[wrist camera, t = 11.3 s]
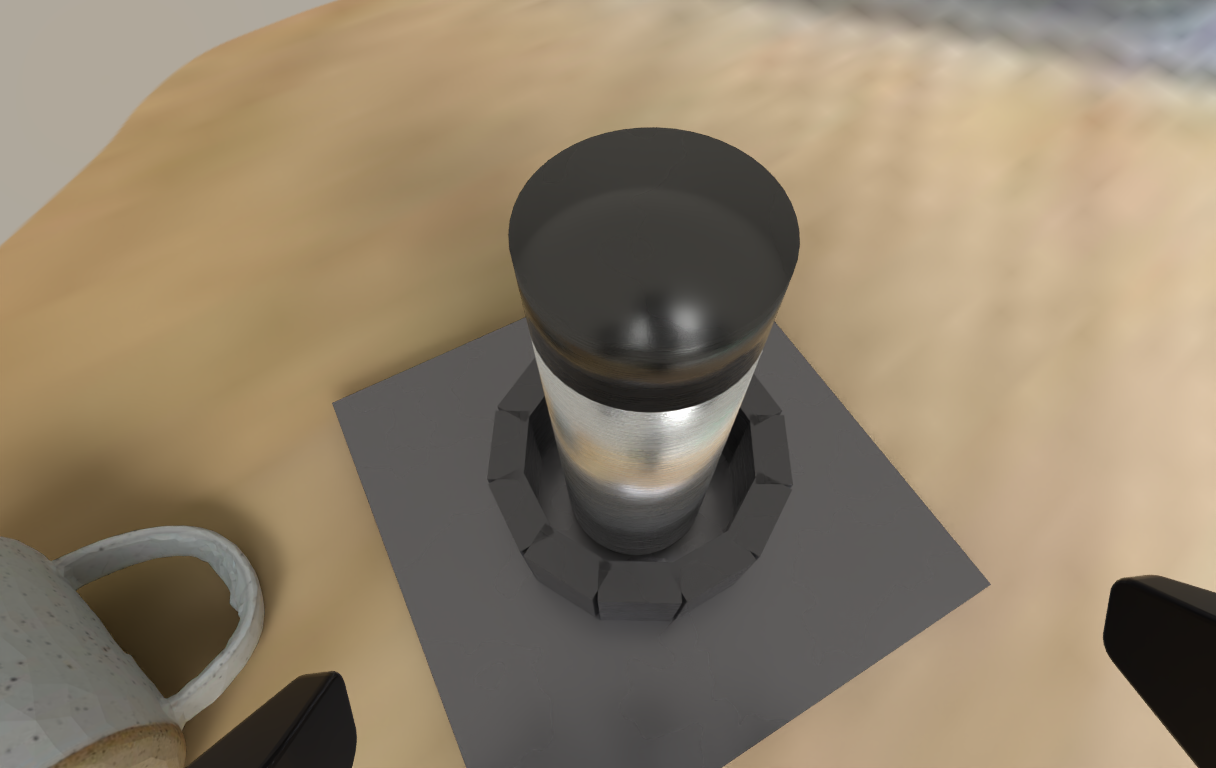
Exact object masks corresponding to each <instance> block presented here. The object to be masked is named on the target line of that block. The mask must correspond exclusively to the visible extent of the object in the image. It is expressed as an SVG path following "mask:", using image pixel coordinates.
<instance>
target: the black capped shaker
mask: <svg viewBox="0 0 1216 768" xmlns="http://www.w3.org/2000/svg"><path fill="white" fill-rule="evenodd" d="M508 236H509V249H510V254H511V258H512V262H513V266H514V270H515V274H516V278H517V283H518V287H519V291H520V295H521V299H522V303H523V307H524V312H525V316H526V320H527V324H528V328H529V332H530V336H531V340H532V345H533V349H534V353H535V357H536V361H537V365H538V369H539V374H540V378H541V382H542V386H543V390H544V394H545V398H546V403H547V407H548V411H549V415H550V419H551V423H552V427H553V432H554V436H555V440H556V444H557V448H558V452H559V456H560V460H561V465H562V469H563V473H564V477H565V481H566V485H567V489H568V494H569V498H570V502H571V506H572V510H573V512H574V515H575V517H576V519H577V521H578V522H579V524H580V526H581V527H582V528H583V530H584V531H585V532H586V533H587V534H588V535H589V536H590V537H591V538H592V539H593V540H595V541H596V542H597V543H599V544H600V545H602V546H604V547H606V548H608V549H610V550H613V551H615V552H619V553H623V554H630V555H643V554H650V553H654V552H658V551H660V550H663V549H665V548H667V547H669V546H671V545H672V544H674V543H675V542H677V541H678V540H679V539H680V538H682V537H683V536H684V534H685V533H686V532H687V531H688V530H689V529H690V527H691V526H692V524H693V522H694V521H695V519H696V517H697V514H698V512H699V509H700V507H701V504H702V502H703V499H704V497H705V494H706V492H707V489H708V486H709V484H710V481H711V479H712V476H713V474H714V471H715V469H716V466H717V464H718V461H719V459H720V456H721V454H722V451H723V449H724V446H725V444H726V441H727V439H728V436H729V434H730V431H731V429H732V426H733V423H734V421H735V418H736V416H737V413H738V411H739V408H740V406H741V403H742V401H743V398H744V396H745V393H746V391H747V388H748V386H749V383H750V381H751V378H752V376H753V373H754V371H755V368H756V366H757V363H758V360H759V358H760V355H761V353H762V350H763V348H764V345H765V343H766V340H767V338H768V335H769V333H770V330H771V328H772V325H773V323H774V320H775V318H776V315H777V313H778V310H779V308H780V305H781V303H782V300H783V297H784V295H785V292H786V290H787V287H788V285H789V282H790V280H791V277H792V275H793V272H794V269H795V266H796V263H797V260H798V253H799V247H800V238H799V227H798V222H797V217H796V214H795V211H794V209H793V206H792V203H791V201H790V200H789V198H788V196H787V194H786V192H785V191H784V189H783V188H782V187H781V185H780V184H779V183H778V181H777V180H776V179H775V178H774V177H773V176H772V175H771V174H770V173H769V172H768V171H767V170H766V169H765V168H764V167H763V166H762V165H761V164H760V163H758V162H757V161H756V160H754V159H753V158H752V157H750V156H749V155H747V154H746V153H744V152H742V151H741V150H739V149H737V148H735V147H733V146H731V145H729V144H727V143H725V142H723V141H720V140H717V139H715V138H712V137H709V136H706V135H702V134H698V133H694V132H691V131H685V130H678V129H671V128H657V127H656V128H633V129H623V130H618V131H613V132H608V133H604V134H601V135H598V136H594V137H591V138H588V139H586V140H583V141H581V142H579V143H576V144H574V145H572V146H570V147H569V148H567V149H565V150H563V151H561V152H560V153H558V154H557V155H555V156H554V157H553V158H551V159H550V160H548V161H547V162H546V163H545V164H544V165H543V166H542V167H540V168H539V169H538V170H537V171H536V172H535V173H534V175H533V176H532V177H531V178H530V179H529V180H528V182H527V183H526V185H525V186H524V188H523V189H522V191H521V192H520V194H519V196H518V198H517V200H516V203H515V205H514V207H513V211H512V214H511V218H510V224H509V234H508Z"/></svg>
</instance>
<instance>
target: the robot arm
mask: <svg viewBox="0 0 1216 768" xmlns="http://www.w3.org/2000/svg"><path fill="white" fill-rule="evenodd" d="M1103 642H1104V646H1105V649H1106V652H1107V653H1108V655H1109V657H1110V659H1111V660H1112V662H1113V663H1114V664H1115V665H1116V667H1117V668H1118V669H1119V670H1120V672H1121V673H1122V674H1123V675H1124V677H1125V678H1126V679H1127V680H1128V681H1129V683H1130V684H1131V685H1132V686H1133V688H1134V689H1135V690H1136V691H1137V693H1138V694H1139V695H1140V696H1141V698H1142V699H1143V700H1144V701H1145V703H1146V704H1147V705H1148V706H1149V708H1150V709H1151V710H1152V711H1153V713H1154V714H1155V715H1156V716H1157V717H1158V719H1159V720H1160V721H1161V722H1162V724H1163V725H1164V726H1165V727H1166V729H1167V730H1168V731H1169V732H1170V734H1171V735H1172V736H1173V737H1174V739H1175V740H1176V741H1177V742H1178V744H1179V745H1180V746H1181V747H1182V748H1183V750H1184V751H1185V752H1186V753H1187V755H1188V756H1189V757H1190V758H1191V760H1192V761H1193V762H1194V763H1195V765H1196V766H1197V767H1198V768H1216V593H1215V592H1212V591H1209V590H1205V589H1202V588H1199V587H1195V586H1192V585H1189V584H1186V583H1182V582H1179V581H1176V580H1172V579H1169V578H1166V577H1162V576H1158V575H1143V576H1135V577H1126V578H1121V579H1119V580H1117V581H1116V582H1115V583H1114V584H1113V586H1112V588H1111V591H1110V597H1109V603H1108V608H1107V614H1106V620H1105V626H1104V632H1103ZM356 743H357V735H356V727H355V723H354V719H353V714H352V710H351V706H350V702H349V698H348V694H347V690H346V686H345V683H344V680H343V678H342V676H341V675H340V674H339V673H338V672H335V671H329V672H320V673H312V674H305V675H301V676H299V677H298V678H296V679H295V680H293V681H292V682H291V683H290V684H288V685H287V686H286V687H285V688H283V689H282V690H281V691H280V692H278V693H277V694H276V695H275V696H274V697H272V698H271V699H270V700H269V701H267V702H266V703H265V704H264V705H262V706H261V707H260V708H259V709H257V710H256V711H255V712H254V713H252V714H251V715H250V716H249V717H248V718H246V719H245V720H244V721H243V722H241V723H240V724H239V725H238V726H236V727H235V728H234V729H233V730H231V731H230V732H229V733H228V734H227V735H225V736H224V737H223V738H222V739H220V740H219V741H218V742H217V743H215V744H214V745H213V746H212V747H210V748H209V749H208V750H207V751H205V752H204V753H203V754H202V755H201V756H199V757H198V758H197V759H196V760H194V761H193V762H192V763H191V764H189V765H188V766H187V767H186V768H352V765H353V761H354V757H355V751H356Z"/></svg>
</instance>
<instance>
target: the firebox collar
mask: <svg viewBox="0 0 1216 768" xmlns="http://www.w3.org/2000/svg"><path fill="white" fill-rule="evenodd" d="M332 404H333V407H334V409H335V412H336V415H337V417H338V420H339V423H340V426H341V428H342V431H343V434H344V436H345V439H346V442H347V445H348V447H349V450H350V453H351V455H352V458H353V461H354V464H355V466H356V469H357V472H358V475H359V477H360V480H361V483H362V485H363V488H364V491H365V494H366V496H367V499H368V502H369V504H370V507H371V510H372V513H373V515H374V518H375V521H376V523H377V526H378V529H379V532H380V534H381V537H382V540H383V542H384V545H385V548H386V551H387V553H388V556H389V559H390V561H391V564H392V567H393V570H394V572H395V575H396V578H397V580H398V583H399V586H400V589H401V591H402V594H403V597H404V599H405V602H406V605H407V608H408V610H409V613H410V616H411V618H412V621H413V624H414V627H415V629H416V632H417V635H418V637H419V640H420V643H421V646H422V648H423V651H424V654H425V657H426V659H427V662H428V665H429V667H430V670H431V673H432V676H433V678H434V681H435V684H436V686H437V689H438V692H439V695H440V697H441V700H442V703H443V705H444V708H445V711H446V714H447V716H448V719H449V722H450V724H451V727H452V730H453V733H454V735H455V738H456V741H457V743H458V746H459V749H460V752H461V754H462V757H463V760H464V762H465V765H466V768H722V767H723V766H725V765H726V764H728V763H729V762H731V761H732V760H733V759H735V758H736V757H738V756H739V755H741V754H742V753H744V752H745V751H747V750H748V749H750V748H751V747H753V746H754V745H756V744H757V743H758V742H760V741H761V740H763V739H764V738H766V737H767V736H769V735H770V734H772V733H773V732H775V731H776V730H778V729H779V728H781V727H782V726H783V725H785V724H786V723H788V722H789V721H791V720H792V719H794V718H795V717H797V716H798V715H800V714H801V713H803V712H804V711H806V710H807V709H808V708H810V707H811V706H813V705H814V704H816V703H817V702H819V701H820V700H822V699H823V698H825V697H826V696H828V695H829V694H831V693H832V692H834V691H835V690H836V689H838V688H839V687H841V686H842V685H844V684H845V683H847V682H848V681H850V680H851V679H853V678H854V677H856V676H857V675H859V674H860V673H861V672H863V671H864V670H866V669H867V668H869V667H870V666H872V665H873V664H875V663H876V662H878V661H879V660H881V659H882V658H884V657H885V656H886V655H888V654H889V653H891V652H892V651H894V650H895V649H897V648H898V647H900V646H901V645H903V644H904V643H906V642H907V641H909V640H910V639H911V638H913V637H914V636H916V635H917V634H919V633H920V632H922V631H923V630H925V629H926V628H928V627H929V626H931V625H932V624H934V623H935V622H936V621H938V620H939V619H941V618H942V617H944V616H945V615H947V614H948V613H950V612H951V611H953V610H954V609H956V608H957V607H959V606H960V605H961V604H963V603H964V602H966V601H967V600H969V599H970V598H972V597H973V596H975V595H976V594H978V593H979V592H981V591H982V590H984V589H985V588H987V587H988V586H989V585H991V584H990V583H989V582H988V580H987V579H986V578H985V577H984V576H983V574H982V573H981V572H980V571H979V569H978V568H977V567H976V566H975V565H974V563H973V562H972V561H971V560H970V559H969V557H968V556H967V555H966V554H965V552H964V551H963V550H962V549H961V548H960V546H959V545H958V544H957V543H956V541H955V540H954V539H953V538H952V537H951V535H950V534H949V533H948V532H947V531H946V529H945V528H944V527H943V526H942V524H941V523H940V522H939V521H938V520H937V518H936V517H935V516H934V515H933V514H932V512H931V511H930V510H929V509H928V507H927V506H926V505H925V504H924V503H923V501H922V500H921V499H920V498H919V497H918V495H917V494H916V493H915V492H914V490H913V489H912V488H911V487H910V486H909V484H908V483H907V482H906V481H905V479H904V478H903V477H902V476H901V475H900V473H899V472H898V471H897V470H896V469H895V467H894V466H893V465H892V464H891V462H890V461H889V460H888V459H887V458H886V456H885V455H884V454H883V453H882V452H881V450H880V449H879V448H878V447H877V445H876V444H875V443H874V442H873V441H872V439H871V438H870V437H869V436H868V435H867V433H866V432H865V431H864V430H863V428H862V427H861V426H860V425H859V424H858V422H857V421H856V420H855V419H854V417H853V416H852V415H851V414H850V413H849V411H848V410H847V409H846V408H845V407H844V405H843V404H842V403H841V402H840V400H839V399H838V398H837V397H836V396H835V394H834V393H833V392H832V391H831V390H830V388H829V387H828V386H827V385H826V383H825V382H824V381H823V380H822V379H821V377H820V376H819V375H818V374H817V372H816V371H815V370H814V369H813V368H812V366H811V365H810V364H809V363H808V362H807V360H806V359H805V358H804V357H803V355H802V354H801V353H800V352H799V351H798V349H797V348H796V347H795V346H794V345H793V343H792V342H791V341H790V340H789V338H788V337H787V336H786V335H785V334H784V332H783V331H782V330H781V329H780V328H779V326H778V325H777V324H776V323H775V321H774V323H773V325H772V328H771V330H770V333H769V335H768V338H767V340H766V343H765V345H764V348H763V350H762V353H761V355H760V358H759V360H758V363H757V366H756V368H755V371H754V373H753V376H752V378H751V381H750V383H749V386H748V388H747V391H746V393H745V396H744V398H743V401H742V403H741V406H740V408H739V411H738V413H737V416H736V418H735V421H734V423H733V426H732V429H731V431H730V434H729V436H728V439H727V441H726V444H725V446H724V449H723V451H722V454H721V456H720V459H719V461H718V464H717V466H716V469H715V471H714V474H713V476H712V479H711V481H710V484H709V486H708V489H707V492H706V494H705V497H704V499H703V502H702V504H701V507H700V509H699V512H698V514H697V517H696V519H695V521H694V522H693V524H692V526H691V527H690V529H689V530H688V531H687V532H686V533H685V534H684V536H683V537H682V538H680V539H679V540H678V541H677V542H675V543H674V544H672V545H671V546H669V547H667V548H665V549H663V550H660V551H658V552H654V553H650V554H643V555H630V554H623V553H619V552H615V551H613V550H610V549H608V548H606V547H604V546H602V545H600V544H599V543H597V542H596V541H595V540H593V539H592V538H591V537H590V536H589V535H588V534H587V533H586V532H585V531H584V530H583V528H582V527H581V526H580V524H579V522H578V521H577V519H576V517H575V515H574V512H573V510H572V506H571V502H570V498H569V494H568V489H567V485H566V481H565V477H564V473H563V469H562V465H561V460H560V456H559V452H558V448H557V444H556V440H555V436H554V432H553V427H552V423H551V419H550V415H549V411H548V407H547V403H546V398H545V394H544V390H543V386H542V382H541V378H540V374H539V369H538V365H537V361H536V357H535V353H534V349H533V345H532V340H531V336H530V332H529V328H528V324H527V320H526V317H525V318H523V319H521V320H518V321H516V322H514V323H512V324H509V325H507V326H505V327H503V328H500V329H498V330H496V331H493V332H491V333H489V334H487V335H484V336H482V337H480V338H478V339H475V340H473V341H471V342H469V343H466V344H464V345H462V346H460V347H457V348H455V349H453V350H451V351H448V352H446V353H444V354H442V355H439V356H437V357H435V358H433V359H430V360H428V361H426V362H424V363H421V364H419V365H417V366H415V367H412V368H410V369H408V370H406V371H403V372H401V373H399V374H397V375H394V376H392V377H390V378H388V379H385V380H383V381H381V382H379V383H376V384H374V385H372V386H370V387H367V388H365V389H363V390H360V391H358V392H356V393H354V394H351V395H349V396H347V397H345V398H342V399H340V400H338V401H336V402H333V403H332Z"/></svg>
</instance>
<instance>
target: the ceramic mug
mask: <svg viewBox="0 0 1216 768" xmlns="http://www.w3.org/2000/svg"><path fill="white" fill-rule="evenodd" d="M172 556H193V557H197V558H199V559H200V560H202V561H205V562H208V563H209V564H210V565H211V567H212V568H213V569H214V571H215V572H216V573H217V574H218V575H219V576H220V578H221V579H222V580H223V581H224V583H225V584H226V585H227V587H228V589H229V591H230V593H231V594H230V604H231V606H232V607H233V608H234V609H235V610H236V611H238V615H239V617H240V621H239V623H238V626H237V628H236V630H235V632H234V633H233V635H232V636H231V638H230V639H229V641H228V643H227V645H226V648H225V649H224V650H223V651H222V652H220V653H219V654H218V655H217V656H216V657H215V658H214V659H213V660H212V661H211V663H210V664H209V665H208V666H207V667H206V668H205V669H204V670H203V671H202V672H201V673H200V674H199V675H198V676H197V677H196V678H194V679H192V680H191V681H190V682H189V683H187V684H186V685H185V686H184V687H183V688H182V689H181V690H180V691H179V692H178V693H177V694H175V695H173V696H171V697H169V698H164V697H163V696H162V694H161V693H160V692H159V691H158V689H157V688H156V686H155V684H154V683H153V682H152V681H150V679H149V678H148V677H147V676H146V675H145V674H144V672H143V671H142V670H141V669H140V668H139V666H138V665H137V664H136V662H135V661H134V659H133V658H132V656H131V655H129V654H126V653H124V652H123V650H122V649H121V648H120V647H119V645H118V644H117V643H116V642H115V641H114V639H113V638H112V636H111V635H110V633H109V632H108V631H107V629H106V628H105V627H104V625H103V623H102V622H101V620H100V619H99V618H98V617H97V615H96V614H95V613H94V612H93V611H92V610H91V609H90V608H89V606H88V605H87V603H86V602H85V601H84V600H83V599H82V598H81V597H80V595H79V594H78V593H77V592H76V590H78V589H79V588H80V587H82V586H84V585H86V584H88V583H89V582H92V581H94V580H97V579H99V578H101V577H103V576H106V575H109V574H111V573H113V572H115V571H117V570H120V569H123V568H126V567H128V566H131V565H134V564H138V563H141V562H144V561H148V560H151V559H155V558H162V557H172ZM264 613H265V610H264V602H263V595H262V591H261V588H260V584H259V580H258V577H257V575H256V572H255V570H254V569H253V567H252V566H251V564H250V562H249V560H248V558H247V557H246V556H245V555H244V554H243V552H242V551H241V550H240V549H239V548H238V547H237V545H236V544H234V543H233V542H231V541H229V540H228V539H226V538H224V537H223V536H221V535H220V534H218V533H217V532H214V531H211V530H208V529H204V528H200V527H193V526H160V527H153V528H147V529H141V530H135V531H131V532H128V533H124V534H120V535H116V536H113V537H110V538H107V539H104V540H101V541H98V542H95V543H93V544H90V545H88V546H85V547H83V548H80V549H78V550H76V551H74V552H71V553H69V554H67V555H64V556H62V557H60V558H58V559H56V560H53V561H50V560H49V559H47V558H46V557H45V556H44V555H43V554H42V553H40V552H39V551H37V550H35V549H34V548H32V547H30V546H28V545H26V544H24V543H22V542H20V541H19V540H15V539H11V538H6V537H0V768H184V764H185V758H186V752H187V750H186V741H185V738H184V735H183V733H182V730H183V728H184V725H185V723H186V722H187V721H189V720H191V719H192V718H193V717H194V716H195V715H197V714H198V713H199V712H200V711H202V710H203V709H204V708H206V707H207V706H209V705H210V704H212V703H213V702H214V701H215V700H216V699H217V698H218V697H219V696H220V695H221V694H222V693H223V692H224V691H225V689H226V688H227V687H228V686H229V685H230V683H231V682H232V681H233V680H234V678H235V677H236V676H237V675H238V673H239V672H240V671H241V670H242V669H243V667H244V666H245V665H246V663H247V661H248V660H249V658H250V656H251V655H252V653H253V651H254V650H255V648H256V646H257V644H258V641H259V638H260V635H261V633H262V630H263V622H264Z"/></svg>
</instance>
